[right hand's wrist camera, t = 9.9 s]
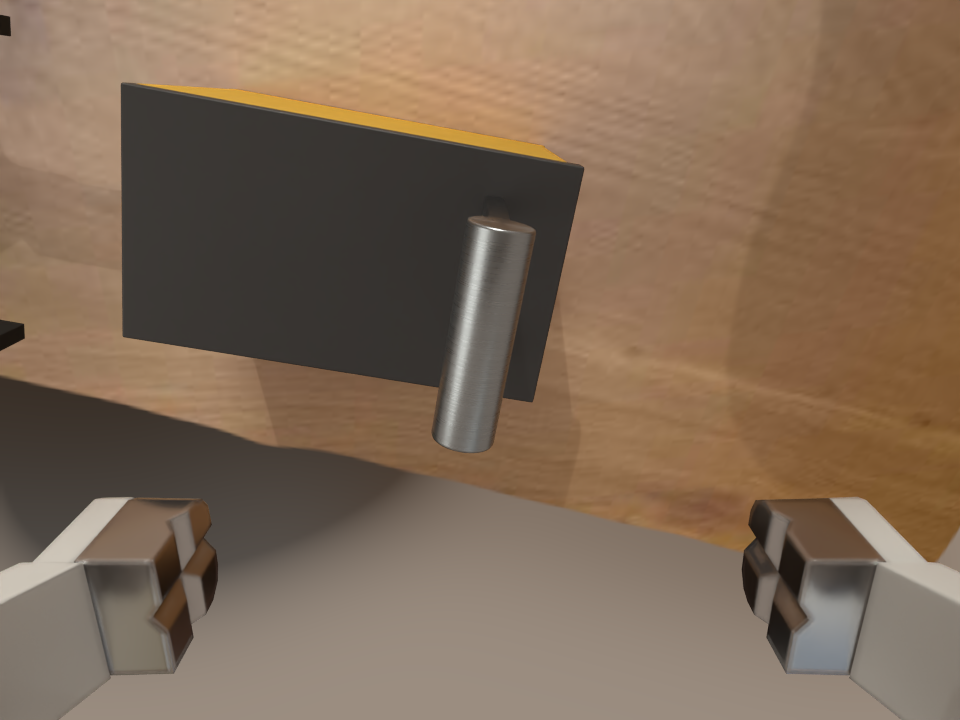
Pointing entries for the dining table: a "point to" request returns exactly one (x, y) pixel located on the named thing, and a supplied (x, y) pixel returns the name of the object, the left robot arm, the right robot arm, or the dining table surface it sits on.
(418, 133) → the chest
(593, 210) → the dining table surface
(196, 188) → the lid
